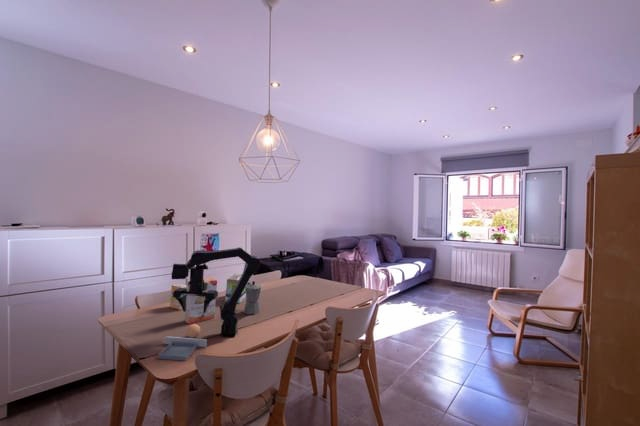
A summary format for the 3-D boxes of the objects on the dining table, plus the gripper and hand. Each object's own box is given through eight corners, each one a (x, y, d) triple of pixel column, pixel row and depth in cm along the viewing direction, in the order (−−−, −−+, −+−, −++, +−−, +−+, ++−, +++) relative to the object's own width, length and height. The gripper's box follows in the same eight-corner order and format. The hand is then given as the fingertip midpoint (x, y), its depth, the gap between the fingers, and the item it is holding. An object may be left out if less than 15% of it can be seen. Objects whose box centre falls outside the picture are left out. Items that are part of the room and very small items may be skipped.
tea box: (240, 303, 184) (242, 280, 184) (224, 302, 184) (226, 278, 184) (246, 296, 199) (248, 274, 199) (232, 295, 199) (233, 273, 199)
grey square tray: (197, 347, 127) (197, 343, 127) (185, 360, 116) (185, 356, 116) (171, 345, 127) (171, 341, 127) (157, 358, 116) (157, 354, 116)
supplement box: (169, 307, 169) (171, 284, 168) (176, 305, 173) (177, 283, 173) (180, 310, 166) (182, 287, 166) (187, 307, 170) (188, 285, 170)
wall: (206, 346, 129) (207, 339, 129) (205, 347, 128) (206, 340, 128) (165, 343, 129) (165, 336, 128) (164, 343, 128) (164, 337, 128)
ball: (202, 334, 139) (202, 322, 139) (196, 340, 133) (197, 327, 133) (189, 333, 139) (190, 321, 139) (183, 339, 133) (184, 326, 133)
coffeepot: (263, 314, 169) (265, 283, 168) (247, 317, 164) (249, 285, 163) (253, 306, 182) (255, 277, 181) (238, 308, 177) (240, 278, 176)
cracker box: (189, 324, 148) (191, 283, 148) (183, 321, 153) (186, 280, 152) (215, 318, 159) (217, 279, 158) (209, 314, 163) (212, 277, 162)
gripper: (222, 275, 143) (220, 307, 144) (184, 273, 143) (182, 304, 144) (214, 281, 132) (212, 316, 132) (172, 278, 132) (171, 313, 132)
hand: (194, 312), depth 136 cm, fingers open, 9 cm apart
